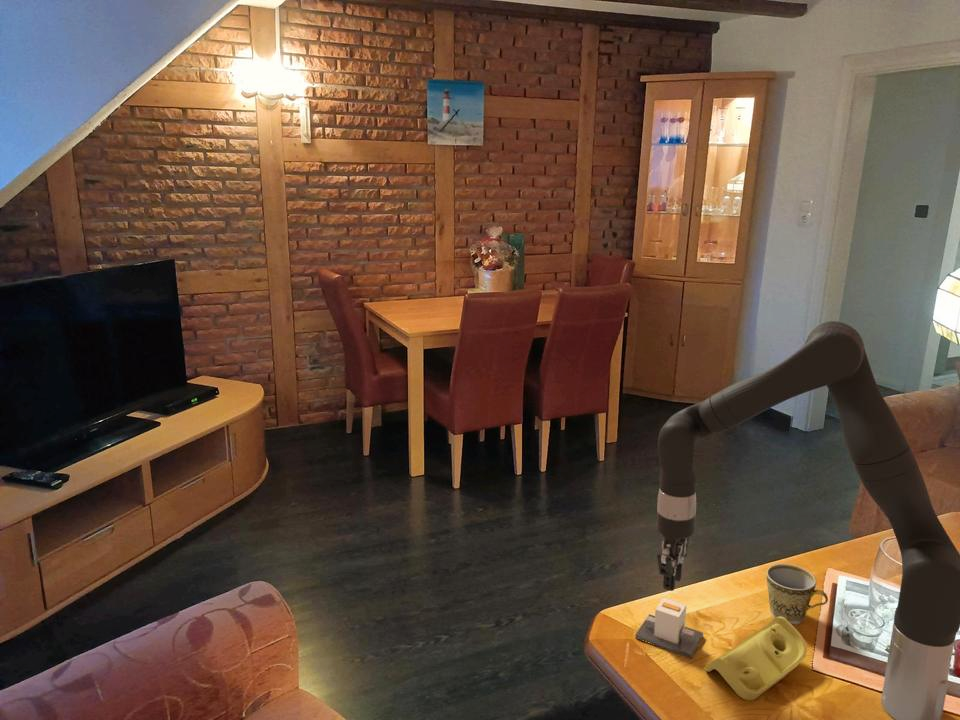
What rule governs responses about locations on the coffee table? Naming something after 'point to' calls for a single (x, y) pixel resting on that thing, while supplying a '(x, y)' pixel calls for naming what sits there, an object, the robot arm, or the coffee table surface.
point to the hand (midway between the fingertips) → (672, 583)
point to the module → (669, 620)
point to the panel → (685, 646)
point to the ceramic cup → (791, 592)
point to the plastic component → (761, 659)
